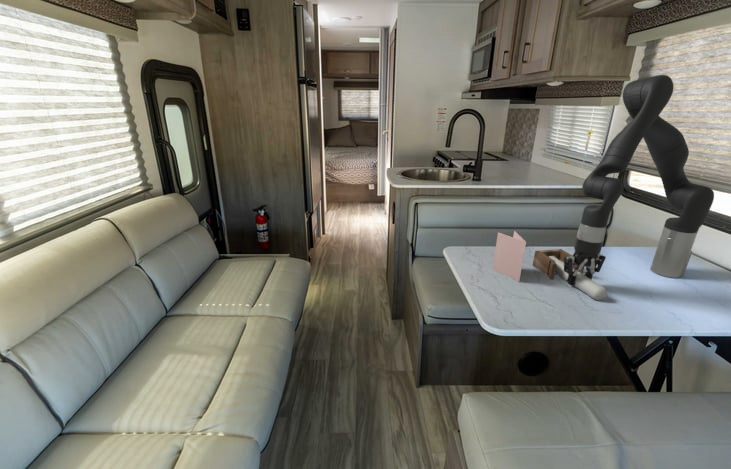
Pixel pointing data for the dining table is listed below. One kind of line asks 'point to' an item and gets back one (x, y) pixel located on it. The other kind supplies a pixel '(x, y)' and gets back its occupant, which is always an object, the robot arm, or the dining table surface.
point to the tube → (582, 282)
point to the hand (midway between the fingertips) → (578, 283)
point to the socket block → (550, 261)
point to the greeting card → (509, 255)
